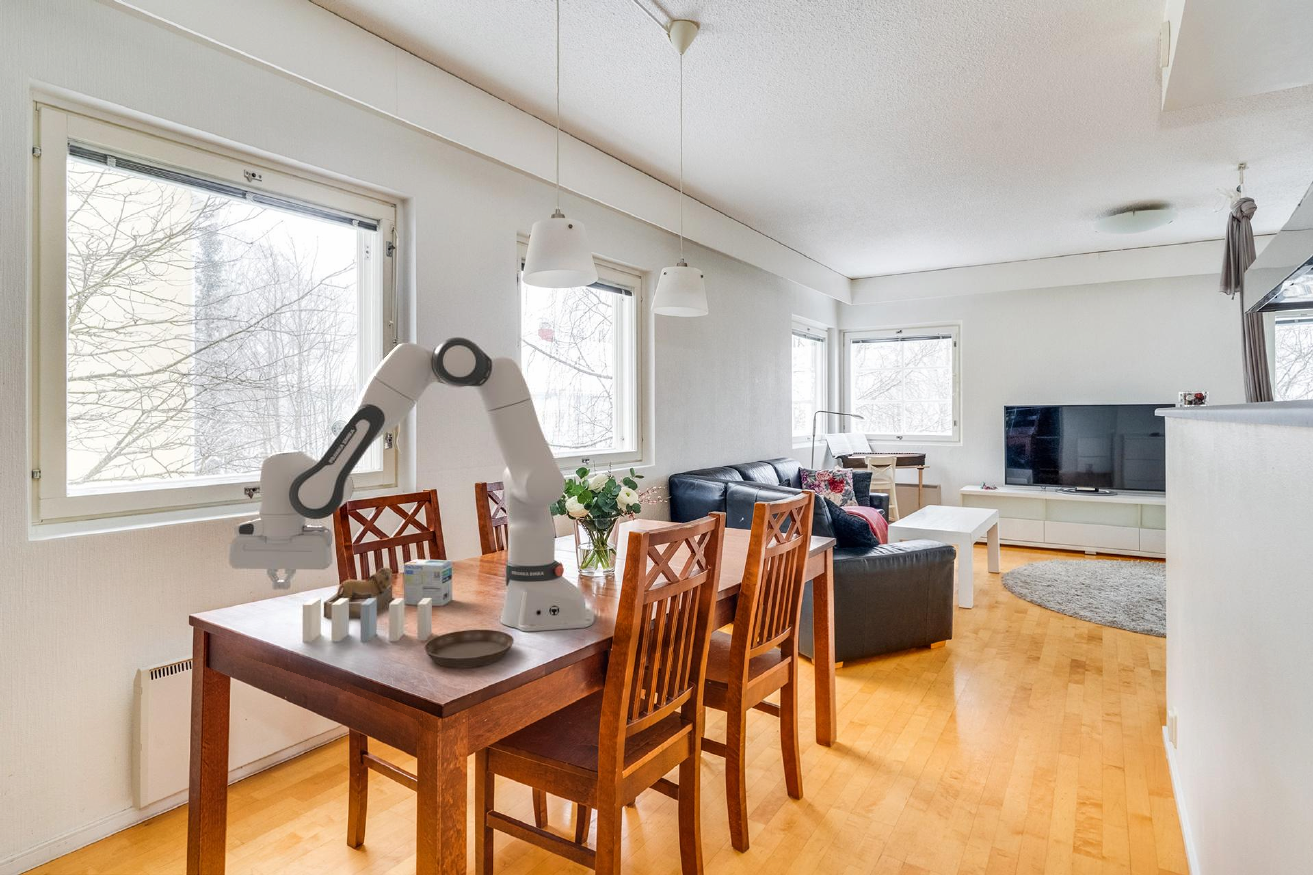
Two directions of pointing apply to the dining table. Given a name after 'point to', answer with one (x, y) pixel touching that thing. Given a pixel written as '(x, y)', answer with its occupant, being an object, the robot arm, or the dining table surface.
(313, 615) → the domino
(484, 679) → the dining table surface
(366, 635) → the domino
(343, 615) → the domino
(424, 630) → the domino
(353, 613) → the brown tray
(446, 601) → the light bulb box
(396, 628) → the domino
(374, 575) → the lion figurine
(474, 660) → the plant saucer
